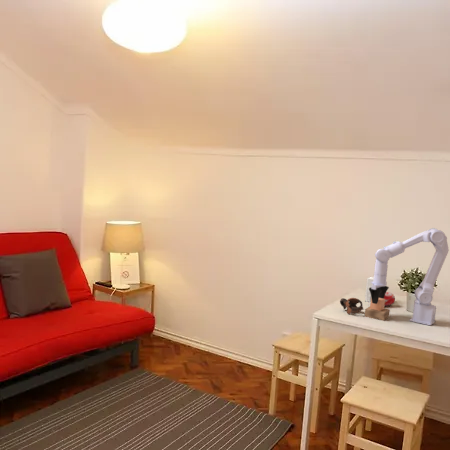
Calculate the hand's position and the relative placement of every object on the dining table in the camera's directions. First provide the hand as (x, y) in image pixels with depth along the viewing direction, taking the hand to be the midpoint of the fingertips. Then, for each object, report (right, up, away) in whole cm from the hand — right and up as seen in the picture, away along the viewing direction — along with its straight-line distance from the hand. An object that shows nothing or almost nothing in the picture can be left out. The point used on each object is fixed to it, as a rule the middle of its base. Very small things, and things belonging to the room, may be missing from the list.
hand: (377, 302), depth 228 cm
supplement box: (+7, -5, +30) cm, 31 cm away
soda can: (+4, -2, +19) cm, 19 cm away
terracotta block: (0, -3, 0) cm, 3 cm away
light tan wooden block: (0, -7, 0) cm, 7 cm away
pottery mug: (-12, -6, +5) cm, 14 cm away
